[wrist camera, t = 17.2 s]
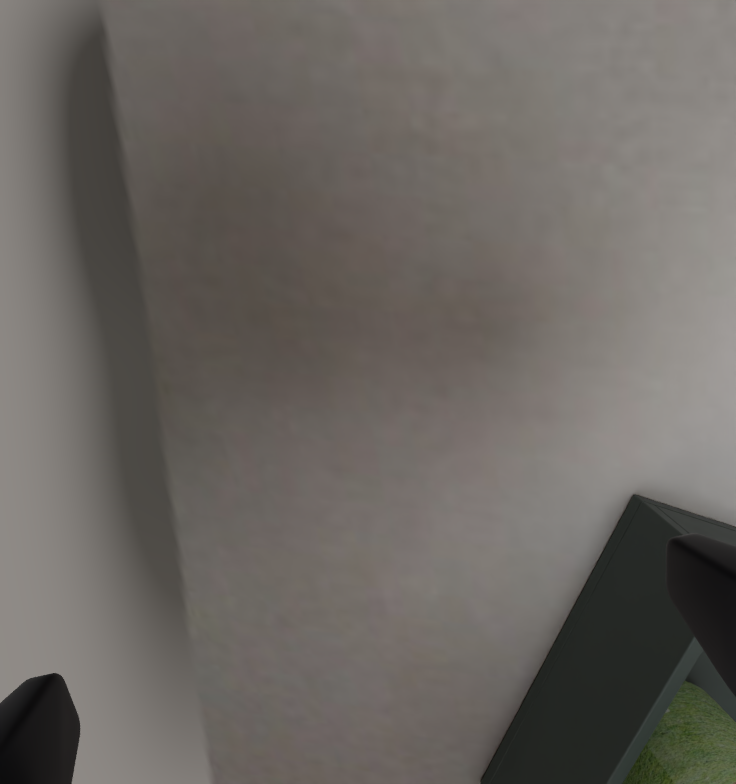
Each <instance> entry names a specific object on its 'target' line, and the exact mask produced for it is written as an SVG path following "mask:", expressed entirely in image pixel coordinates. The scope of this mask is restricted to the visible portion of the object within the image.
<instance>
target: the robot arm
mask: <svg viewBox="0 0 736 784" xmlns="http://www.w3.org/2000/svg"><path fill="white" fill-rule="evenodd" d="M666 588H667V592H668V595H669V597H670V599H671V601H672V602H673V604H674V606H675V607H676V609H677V610H678V612H679V613H680V615H681V616H682V618H683V619H684V621H685V622H686V624H687V625H688V627H689V629H690V630H691V632H692V633H693V635H694V636H695V638H696V639H697V641H698V642H699V644H700V645H701V647H702V649H703V650H704V652H705V653H706V655H707V656H708V658H709V659H710V661H711V662H712V664H713V665H714V667H715V669H716V670H717V672H718V673H719V675H720V676H721V678H722V679H723V680H724V682H725V683H726V685H727V686H728V688H729V689H730V690H731V692H732V693H733V694H734V696H735V697H736V546H735V545H732V544H729V543H726V542H723V541H719V540H716V539H713V538H710V537H707V536H704V535H701V534H697V533H690V534H686V535H681V536H677V537H672V538H671V539H669V540H668V542H667V544H666ZM79 737H80V721H79V717H78V714H77V711H76V709H75V706H74V704H73V701H72V699H71V696H70V693H69V691H68V688H67V686H66V683H65V681H64V679H63V677H62V676H61V675H59V674H56V673H53V674H48V675H43V676H39V677H34V678H30V679H28V680H26V681H25V682H23V683H22V684H21V685H20V686H19V687H18V688H17V689H16V690H14V691H13V692H12V693H11V694H10V695H9V696H8V697H7V698H5V699H4V700H3V701H2V702H1V703H0V784H71V782H72V777H73V772H74V766H75V760H76V754H77V749H78V743H79Z"/></svg>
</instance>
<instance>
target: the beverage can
mask: <svg viewBox="0 0 736 784" xmlns="http://www.w3.org/2000/svg"><path fill="white" fill-rule="evenodd" d="M622 784H736V722H735V721H734V720H733V719H732V718H731V717H730V716H729V715H728V714H727V713H726V712H725V710H724V709H723V708H722V707H721V706H720V705H719V704H718V703H717V702H716V701H715V700H714V699H713V698H712V697H711V696H710V695H709V694H708V693H706V692H705V691H704V690H703V689H701V688H700V687H698V686H696V685H694V684H692V683H690V682H687V681H684V682H683V684H682V686H681V687H680V689H679V691H678V692H677V694H676V696H675V697H674V699H673V701H672V702H671V704H670V706H669V707H668V709H667V711H666V712H665V714H664V715H663V717H662V719H661V720H660V722H659V724H658V725H657V727H656V729H655V730H654V732H653V734H652V735H651V737H650V739H649V740H648V742H647V744H646V745H645V747H644V749H643V750H642V752H641V754H640V755H639V757H638V758H637V760H636V762H635V763H634V765H633V767H632V768H631V770H630V772H629V773H628V775H627V777H626V778H625V780H624V782H623V783H622Z"/></svg>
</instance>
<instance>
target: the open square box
mask: <svg viewBox="0 0 736 784" xmlns="http://www.w3.org/2000/svg"><path fill="white" fill-rule="evenodd" d="M690 533H697V534H701V535H704V536H707V537H710V538H713V539H716V540H719V541H723V542H726V543H729V544H732V545H735V546H736V527H733V526H730V525H727V524H724V523H721V522H718V521H715V520H712V519H709V518H706V517H703V516H700V515H696V514H693V513H690V512H687V511H684V510H681V509H678V508H675V507H672V506H669V505H666V504H663V503H659V502H656V501H653V500H650V499H647V498H644V497H641V496H638V495H633V497H632V499H631V501H630V503H629V505H628V507H627V508H626V510H625V512H624V514H623V516H622V518H621V520H620V522H619V524H618V525H617V527H616V529H615V531H614V533H613V535H612V537H611V539H610V540H609V542H608V544H607V546H606V548H605V550H604V552H603V554H602V555H601V557H600V559H599V561H598V563H597V565H596V567H595V569H594V570H593V572H592V574H591V576H590V578H589V580H588V582H587V584H586V585H585V587H584V589H583V591H582V593H581V595H580V597H579V599H578V601H577V602H576V604H575V606H574V608H573V610H572V612H571V614H570V616H569V617H568V619H567V621H566V623H565V625H564V627H563V629H562V631H561V632H560V634H559V636H558V638H557V640H556V642H555V644H554V646H553V647H552V649H551V651H550V653H549V655H548V657H547V659H546V661H545V662H544V664H543V666H542V668H541V670H540V672H539V674H538V676H537V677H536V679H535V681H534V683H533V685H532V687H531V689H530V691H529V693H528V694H527V696H526V698H525V700H524V702H523V704H522V706H521V708H520V709H519V711H518V713H517V715H516V717H515V719H514V721H513V723H512V724H511V726H510V728H509V730H508V732H507V734H506V736H505V738H504V739H503V741H502V743H501V745H500V747H499V749H498V751H497V753H496V754H495V756H494V758H493V760H492V762H491V764H490V766H489V768H488V769H487V771H486V773H485V775H484V777H483V779H482V781H481V784H622V783H623V782H624V780H625V778H626V777H627V775H628V773H629V772H630V770H631V768H632V767H633V765H634V763H635V762H636V760H637V758H638V757H639V755H640V754H641V752H642V750H643V749H644V747H645V745H646V744H647V742H648V740H649V739H650V737H651V735H652V734H653V732H654V730H655V729H656V727H657V725H658V724H659V722H660V720H661V719H662V717H663V715H664V714H665V712H666V711H667V709H668V707H669V706H670V704H671V702H672V701H673V699H674V697H675V696H676V694H677V692H678V691H679V689H680V687H681V686H682V684H683V682H684V681H687V682H690V683H692V684H694V685H696V686H698V687H700V688H701V689H703V690H704V691H705V692H706V693H708V694H709V695H710V696H711V697H712V698H713V699H714V700H715V701H716V702H717V703H718V704H719V705H720V706H721V707H722V708H723V709H724V710H725V712H726V713H727V714H728V715H729V716H730V717H731V718H732V719H733V720H734V721H735V722H736V697H735V696H734V694H733V693H732V692H731V690H730V689H729V688H728V686H727V685H726V683H725V682H724V680H723V679H722V678H721V676H720V675H719V673H718V672H717V670H716V669H715V667H714V665H713V664H712V662H711V661H710V659H709V658H708V656H707V655H706V653H705V652H704V650H703V649H702V647H701V645H700V644H699V642H698V641H697V639H696V638H695V636H694V635H693V633H692V632H691V630H690V629H689V627H688V625H687V624H686V622H685V621H684V619H683V618H682V616H681V615H680V613H679V612H678V610H677V609H676V607H675V606H674V604H673V602H672V601H671V599H670V597H669V595H668V592H667V588H666V544H667V542H668V540H669V539H671V538H672V537H677V536H681V535H686V534H690Z"/></svg>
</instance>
